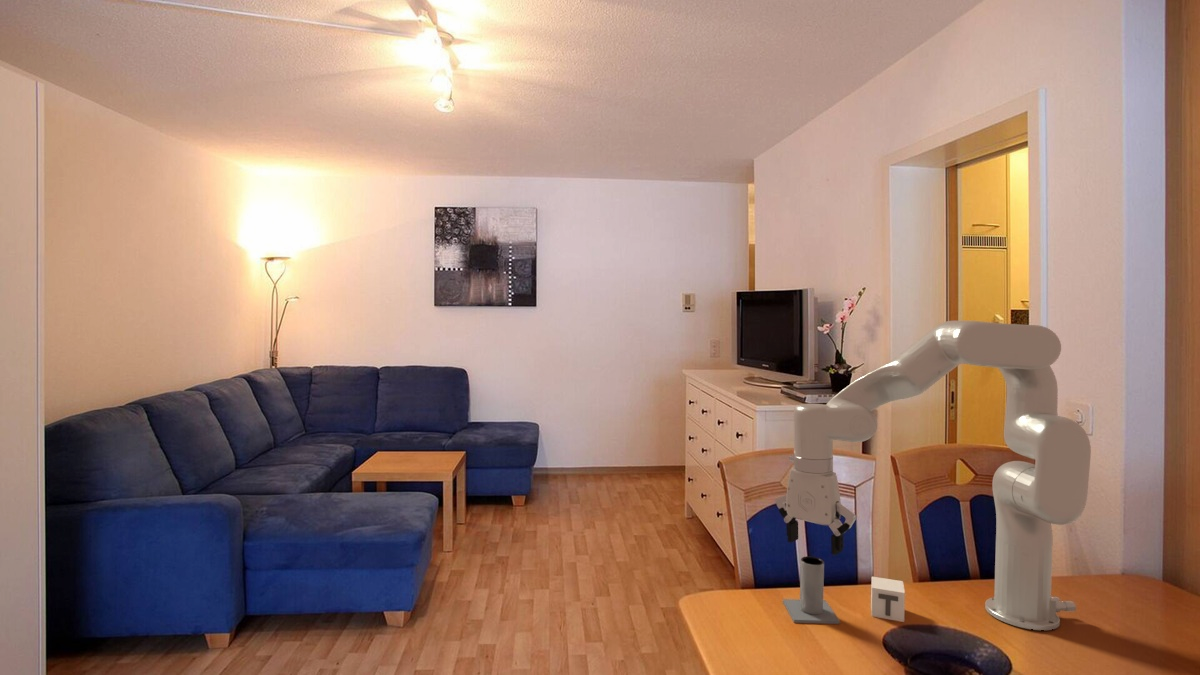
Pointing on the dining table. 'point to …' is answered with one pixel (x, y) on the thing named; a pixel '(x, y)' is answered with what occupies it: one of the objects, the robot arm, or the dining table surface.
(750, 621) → the dining table surface
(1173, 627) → the dining table surface
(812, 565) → the grey hollow tube
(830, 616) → the grey mat
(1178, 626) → the dining table surface
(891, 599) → the letter cube
